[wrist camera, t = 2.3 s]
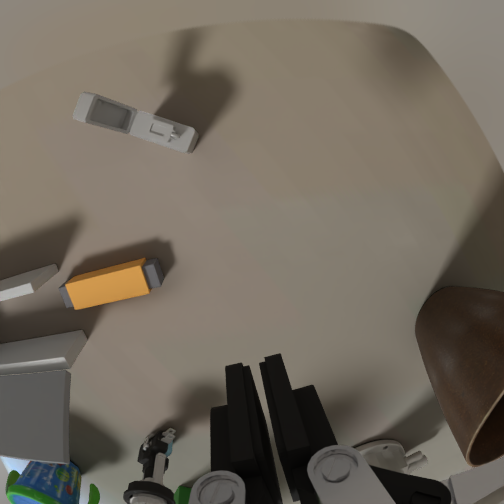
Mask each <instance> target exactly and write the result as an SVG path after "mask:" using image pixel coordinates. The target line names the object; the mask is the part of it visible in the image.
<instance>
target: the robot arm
mask: <svg viewBox="0 0 504 504" xmlns="http://www.w3.org/2000/svg"><path fill="white" fill-rule="evenodd" d="M264 358H265V362H261V363H259V366H260V370H261V375H262V380H263V385H264V390H265V395H266V399H267V404H268V409H269V414H270V418H271V423H272V428H273V433H274V437H275V442H276V446H277V450H278V454H279V458H280V461H281V464H282V467H283V471H284V474H285V477H286V480H287V483H288V486H289V489H290V493H291V496H292V499H293V502H295V501H299V500H300V502H301V504H504V457H502V458H500V459H498V460H495V461H493V462H490V463H487V464H485V465H482V466H479V467H476V468H474V469H471V470H468V471H465V472H462V473H459V474H455V475H452V476H450V477H449V479H447V480H444V481H440V482H439V481H436V480H432V479H427V478H422V477H417V476H413V475H410V472H412V471H414V470H418V469H420V468H422V467H424V466H426V465H427V464H428V460H427V458H426V456H425V455H422V452H421V451H418V452H416V453H413V454H412V455H410V456H408V457H406V456H405V451H404V449H403V447H402V445H401V444H400V443H399V442H397V441H395V440H378V441H374V442H370V443H367V444H364V445H361V446H359V447H357V448H352V447H350V446H346V445H338V444H337V441H336V439H335V436H334V434H333V431H332V429H331V427H330V424H329V422H328V419H327V417H326V414H325V412H324V409H323V407H322V404H321V402H320V399H319V397H318V395H317V392H316V390H315V387H314V386H313V385H310V386H306V387H302V388H299V389H295V390H292V388H291V385H290V382H289V379H288V375H287V372H286V369H285V366H284V363H283V360H282V356H281V354H276V355H272V356H268V357H264ZM225 372H226V390H227V405H224V406H219V407H214V408H211V412H210V437H211V472H210V473H207V474H205V475H203V476H202V477H200V478H199V479H198V480H197V481H196V482H195V484H194V485H193V487H192V490H191V493H190V499H189V504H283V503H282V498H281V493H280V488H279V483H278V478H277V473H276V468H275V463H274V458H273V453H272V448H271V443H270V438H269V433H268V428H267V424H266V420H265V416H264V413H263V410H262V406H261V403H260V400H259V396H258V393H257V390H256V386H255V383H254V380H253V376H252V373H251V370H250V366H249V365H248V366H244V367H243V364H242V363H237V364H233V365H228V366H226V367H225Z"/></svg>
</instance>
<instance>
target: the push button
mask: <svg viewBox="0 0 504 504" xmlns="http://www.w3.org/2000/svg"><path fill="white" fill-rule="evenodd" d="M169 431H173V432H169ZM175 432H176V430H174V429H172V428H169V429H168V430H167V431H166V432H161V431H159V432H158V433H157V434H156V435H155V436H154V437H153V438H152V439H151V440H150V441H149V442H148V439H149V437H147V438H146V439H145V441H144V444H142V445H141V447H140V451H139V456H138V462H139V463H141V464H143V470H142V472H143V479H142V480H141V481H134V482H131V483H129V486H128V490H126V491H125V492H124V495H123V498H124V500H125V502H126V503H127V504H176V502H175V500H174V493H173V492H172V491H171V490H170V489H168V488H167V487H165V486H164V485H163V475H164V472H165V471H166V470H167V469H168V463H169V459H168V458H167V457H168V456H169V455H170V454H171V453H172V444H173V439H174V438H175V436H174V435H173V434H174V433H175ZM146 440H147V441H146Z"/></svg>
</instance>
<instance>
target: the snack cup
mask: <svg viewBox="0 0 504 504" xmlns="http://www.w3.org/2000/svg"><path fill="white" fill-rule="evenodd" d="M80 487H81V474H80V471H79V468H78V467H77V466H75V465H74V464H73V463H72V462H71V461H70V464H59V463H48V462H38V461H30V462H29V464H28V465H27V466H26V468H25V470H24V471H23V472H22V474H21V475H20V474H19V473H18V472H17V471H15V470H12V471H11V472H10V474H9V476H8V479H7V484H6V495H7V498H8V500H9V501H10V502H11V503H12V504H79V499H80ZM99 500H100V493H99V490H98V488H97V487H96V486H95V485H94V484H90V493H89V502H88V504H98V503H99Z"/></svg>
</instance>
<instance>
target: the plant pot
mask: <svg viewBox="0 0 504 504" xmlns="http://www.w3.org/2000/svg"><path fill="white" fill-rule="evenodd" d="M415 334H416V338H417V342H418V345H419V349H420V352H421V355H422V359H423V362H424V365H425V368H426V371H427V374H428V376H429V379H430V382H431V384H432V387H433V390H434V392H435V395H436V397H437V400H438V402H439V404H440V407H441V409H442V411H443V414H444V416H445V418H446V420H447V422H448V425H449V427H450V429H451V431H452V433H453V435H454V437H455V439H456V441H457V443H458V445H459V447H460V450H461V452H462V454H463V456H464V458H465V460H466V462H467V464H468V465H469V466H472V467H479V466H482V465H485V464H487V463H490V462H493V461H495V460H497V459H498V458H500V457H502V456H503V455H504V292H501V291H495V290H489V289H481V288H471V287H452V286H451V287H446V288H442V289H440V290H439V291H437V292H436V293H434V294H433V295H432V296H431V297H430V298H429V299H428V300H427V301H426V303H425V304H424V305H423V307H422V309H421V310H420V312H419V315H418V317H417V320H416V325H415Z"/></svg>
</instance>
